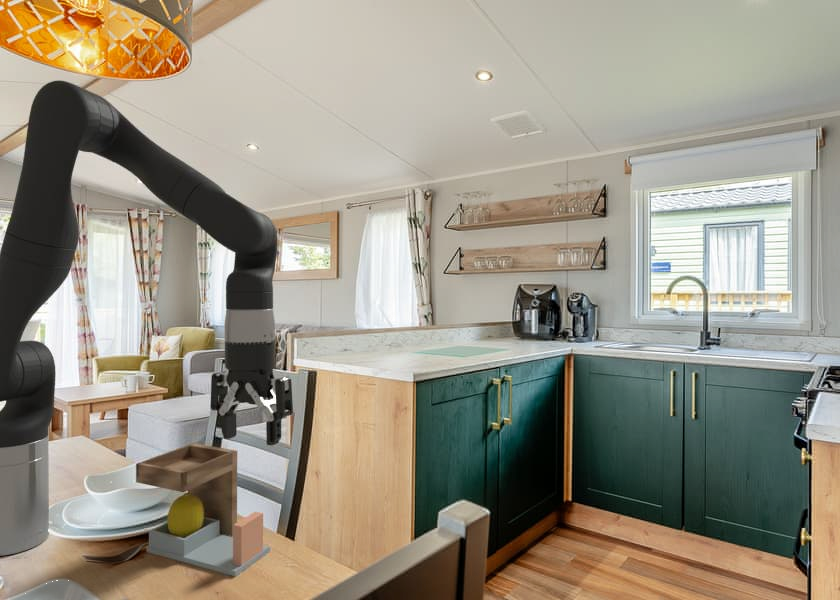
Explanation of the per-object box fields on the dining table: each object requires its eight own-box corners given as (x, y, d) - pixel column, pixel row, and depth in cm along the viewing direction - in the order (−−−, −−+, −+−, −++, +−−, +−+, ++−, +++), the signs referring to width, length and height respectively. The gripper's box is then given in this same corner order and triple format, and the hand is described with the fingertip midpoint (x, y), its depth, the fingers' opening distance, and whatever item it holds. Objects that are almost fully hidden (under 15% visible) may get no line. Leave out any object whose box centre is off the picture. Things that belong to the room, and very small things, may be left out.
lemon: (179, 553, 82) (180, 503, 82) (160, 542, 85) (161, 494, 85) (210, 539, 86) (211, 492, 86) (191, 530, 90) (192, 484, 89)
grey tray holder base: (146, 551, 84) (146, 510, 84) (185, 530, 91) (185, 491, 91) (235, 576, 77) (235, 531, 77) (269, 551, 84) (270, 509, 84)
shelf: (136, 553, 83) (136, 463, 83) (192, 522, 94) (193, 443, 94) (183, 566, 80) (183, 472, 79) (236, 533, 90) (237, 450, 90)
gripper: (197, 338, 81) (198, 442, 81) (271, 342, 75) (272, 453, 75) (232, 334, 87) (233, 430, 88) (302, 337, 82) (303, 439, 82)
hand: (251, 440), depth 82 cm, fingers open, 8 cm apart
